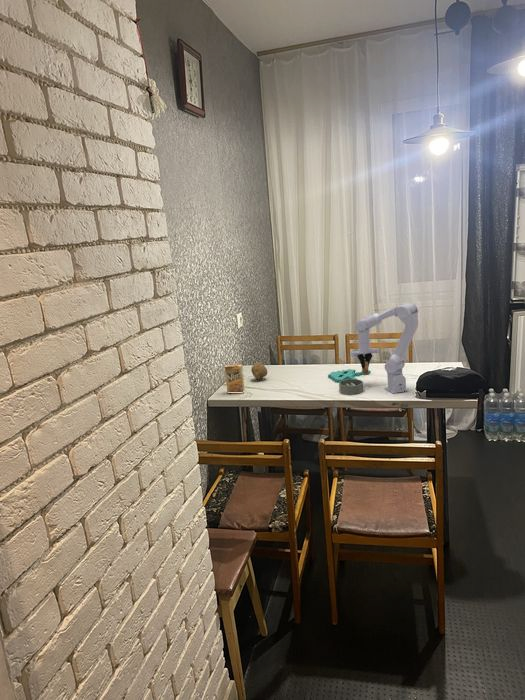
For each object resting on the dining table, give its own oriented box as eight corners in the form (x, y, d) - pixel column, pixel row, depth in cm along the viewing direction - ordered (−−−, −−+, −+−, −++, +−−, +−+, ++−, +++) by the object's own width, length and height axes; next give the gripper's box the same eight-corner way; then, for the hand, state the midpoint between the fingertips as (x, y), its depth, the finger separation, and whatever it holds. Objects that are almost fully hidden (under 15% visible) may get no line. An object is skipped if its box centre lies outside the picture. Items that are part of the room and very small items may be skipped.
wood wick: (368, 374, 255) (368, 361, 254) (365, 375, 255) (365, 362, 254) (365, 372, 260) (364, 359, 258) (362, 373, 259) (361, 360, 258)
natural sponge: (267, 376, 290) (265, 360, 288) (269, 381, 281) (267, 364, 279) (251, 378, 289) (250, 362, 287) (253, 383, 280) (251, 366, 278)
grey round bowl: (367, 392, 247) (366, 383, 246) (345, 396, 245) (344, 387, 244) (357, 386, 258) (357, 377, 257) (336, 389, 256) (335, 381, 255)
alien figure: (370, 374, 278) (337, 372, 288) (370, 370, 277) (337, 368, 288) (358, 385, 261) (323, 382, 272) (358, 381, 261) (323, 378, 271)
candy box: (227, 394, 264) (224, 366, 261) (229, 391, 268) (226, 364, 265) (243, 393, 263) (240, 366, 259) (245, 391, 267) (242, 363, 263)
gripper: (373, 339, 259) (374, 364, 262) (347, 342, 256) (349, 368, 259) (379, 341, 252) (380, 367, 255) (353, 345, 249) (354, 371, 252)
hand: (365, 367), depth 257 cm, fingers closed on wood wick, 1 cm apart
